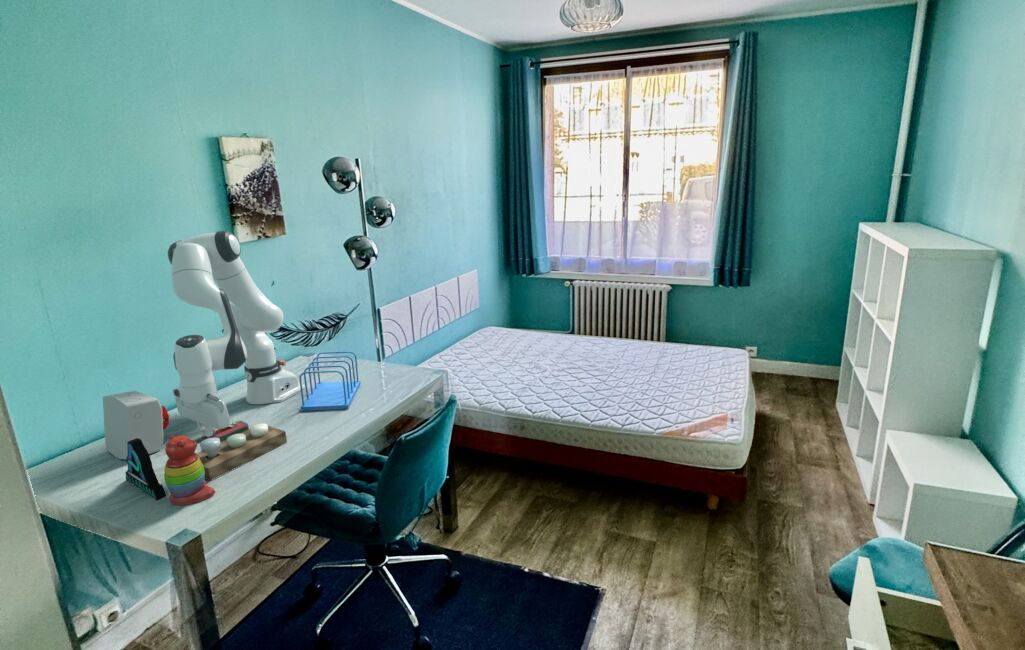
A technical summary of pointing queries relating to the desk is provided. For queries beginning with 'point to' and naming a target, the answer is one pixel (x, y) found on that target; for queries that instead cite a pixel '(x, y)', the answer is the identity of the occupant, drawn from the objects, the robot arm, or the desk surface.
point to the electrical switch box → (133, 422)
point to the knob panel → (241, 452)
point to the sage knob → (236, 440)
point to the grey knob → (210, 447)
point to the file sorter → (330, 387)
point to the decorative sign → (142, 470)
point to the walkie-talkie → (227, 431)
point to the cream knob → (259, 430)
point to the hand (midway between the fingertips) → (207, 435)
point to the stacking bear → (185, 472)
